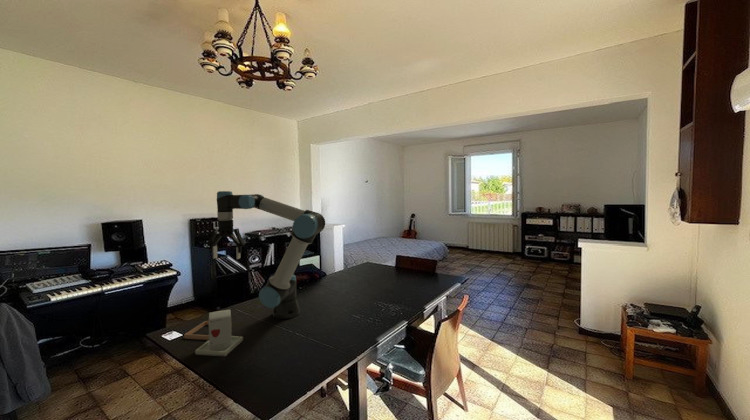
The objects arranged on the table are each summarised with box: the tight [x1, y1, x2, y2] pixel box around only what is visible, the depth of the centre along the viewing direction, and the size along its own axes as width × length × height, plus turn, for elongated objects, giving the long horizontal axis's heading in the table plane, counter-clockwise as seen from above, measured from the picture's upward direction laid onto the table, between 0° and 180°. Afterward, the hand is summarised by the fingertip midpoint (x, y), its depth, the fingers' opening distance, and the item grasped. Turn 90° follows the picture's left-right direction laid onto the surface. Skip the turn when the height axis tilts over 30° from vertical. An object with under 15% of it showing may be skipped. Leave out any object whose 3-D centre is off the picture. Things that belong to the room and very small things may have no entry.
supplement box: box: [208, 309, 232, 351], centre depth 137 cm, size 9×9×15 cm
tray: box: [194, 335, 244, 357], centre depth 137 cm, size 14×14×2 cm
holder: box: [183, 320, 232, 341], centre depth 152 cm, size 15×15×2 cm
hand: (226, 258), depth 163 cm, fingers open, 13 cm apart
